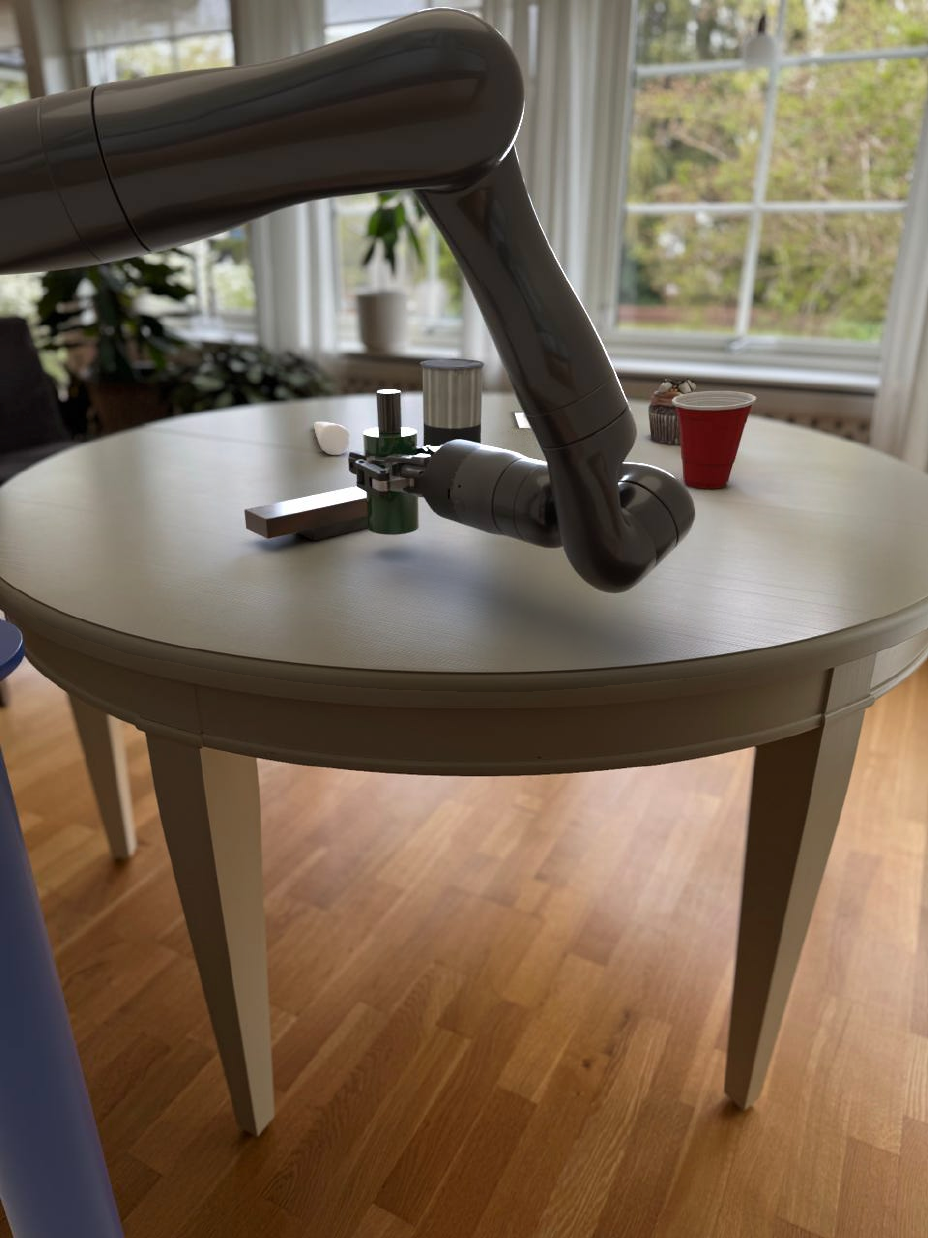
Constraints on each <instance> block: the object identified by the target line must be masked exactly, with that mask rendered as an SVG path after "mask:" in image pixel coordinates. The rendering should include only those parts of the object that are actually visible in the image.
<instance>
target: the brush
mask: <svg viewBox="0 0 928 1238" xmlns="http://www.w3.org/2000/svg"><path fill="white" fill-rule="evenodd" d="M243 513H244V521H245V528H246V530H248V531H250V532H252V533H255V534H257V535H259V536H261V537H263V538H264V539H267V540H269V539H270V540H271V539H274V538H279V537H282V536H286V535H292V534H295V533H296V534H300V535H302V536H304V537H306V538H308V539H311V540H313V541H315V542H316V541H320V540H324V539H328V538H332V537H336V536H340V535H343V534H344V535H345V534H348V533H352V532H357V531H361V530H365V529H368V520H367V500H366V492H365V491H364V490H362V489H360V488H358V487H357V485H356V486H351V487H346V488H343V489H337V490H333V491H327V492H322V493H318V494H312V495H308V496H304V497H298V498H293V499H288V500H283V501H280V502H274V503H270V504H264V505H260V506H253V507H249V508H246V509H244V512H243Z"/></svg>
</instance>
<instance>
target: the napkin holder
mask: <svg viewBox="0 0 928 1238" xmlns="http://www.w3.org/2000/svg"><path fill="white" fill-rule="evenodd" d="M514 414H515V419H516V421H517V425H518V428H519V429H531V427H530V425H529V423H528V421H527V419H526V417H525V415H524V413H523V412H514Z"/></svg>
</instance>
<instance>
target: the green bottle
mask: <svg viewBox="0 0 928 1238" xmlns="http://www.w3.org/2000/svg"><path fill="white" fill-rule="evenodd" d="M401 394H402V393H401V390H398V389H379V390H377V391H376V393H375V395H376V417H377V427H374V428H369V429H365V430H364V431H363V432H362V437H363V439H362V440H363V453H365V454H369V455H372V456H375V457H384V458H386V457H387V456H390V455H392V454H403V455H413V456H415V455H417V446H418V431H417V430H416V429H414V428H410V427H405V426H404V427H403V426H402V425H403V423H402V395H401ZM402 464H403V463H400V462H399V463H398V465H399V476H401V470H400V468H401V465H402ZM380 467H381V468H383V469H384V468H386V467H385V466H384V465H380ZM366 500H367V520H368V528H367V529H368V530H369V531H370V532H371V533H374V534H377V535H378V534H379V535H386V536H395V535H396V536H397V535H405V534H410V533H413V532H416V531H417V530H418V529H419V528H420V511H419V509H420V506H419V505H420V503H419V497H416V496H413V495H412V494H411V493H404V492H396V491H390V498H389V499H386V500H382V499H378V498H377V497H375V496H373V495H371V494H369V493H367V492H366Z"/></svg>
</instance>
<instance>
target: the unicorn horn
mask: <svg viewBox="0 0 928 1238" xmlns="http://www.w3.org/2000/svg"><path fill="white" fill-rule="evenodd" d="M313 427H314V432H315V435H316V439H317V442H318V445H319V447H320V449H321V450H322V451H323V452H324V453H326V454H327V455H331V456H340V455H342V454H345V453H346V451H347V450H348V449H349V446H350V443H351V436H350V433H349V430H348V429H347V428H346V427H344V425H341V424H337V423H333V422H328V421H315V422H314V423H313Z"/></svg>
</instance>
